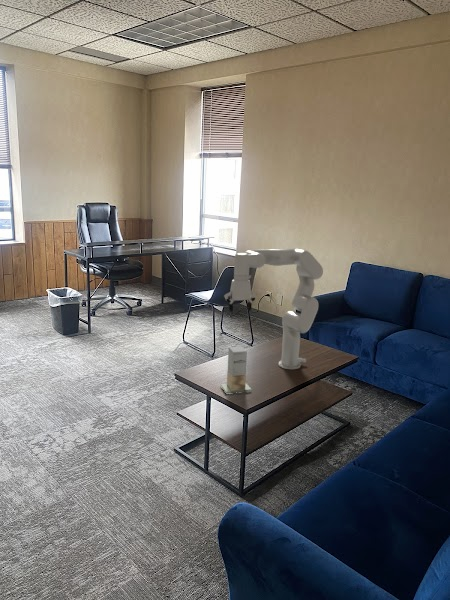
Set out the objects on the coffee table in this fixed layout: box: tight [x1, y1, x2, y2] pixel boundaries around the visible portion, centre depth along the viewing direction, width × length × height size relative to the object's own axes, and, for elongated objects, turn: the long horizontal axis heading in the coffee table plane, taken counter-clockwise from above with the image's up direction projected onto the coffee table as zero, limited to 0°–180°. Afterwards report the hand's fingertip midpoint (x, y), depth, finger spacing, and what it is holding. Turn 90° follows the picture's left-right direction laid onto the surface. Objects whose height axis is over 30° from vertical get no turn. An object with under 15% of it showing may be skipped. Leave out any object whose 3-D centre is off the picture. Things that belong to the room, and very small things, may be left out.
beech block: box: [226, 370, 247, 391], centre depth 231 cm, size 7×8×7 cm
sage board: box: [220, 383, 252, 394], centre depth 232 cm, size 13×9×2 cm
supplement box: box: [227, 346, 248, 376], centre depth 229 cm, size 7×7×13 cm
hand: (240, 310), depth 239 cm, fingers open, 9 cm apart
